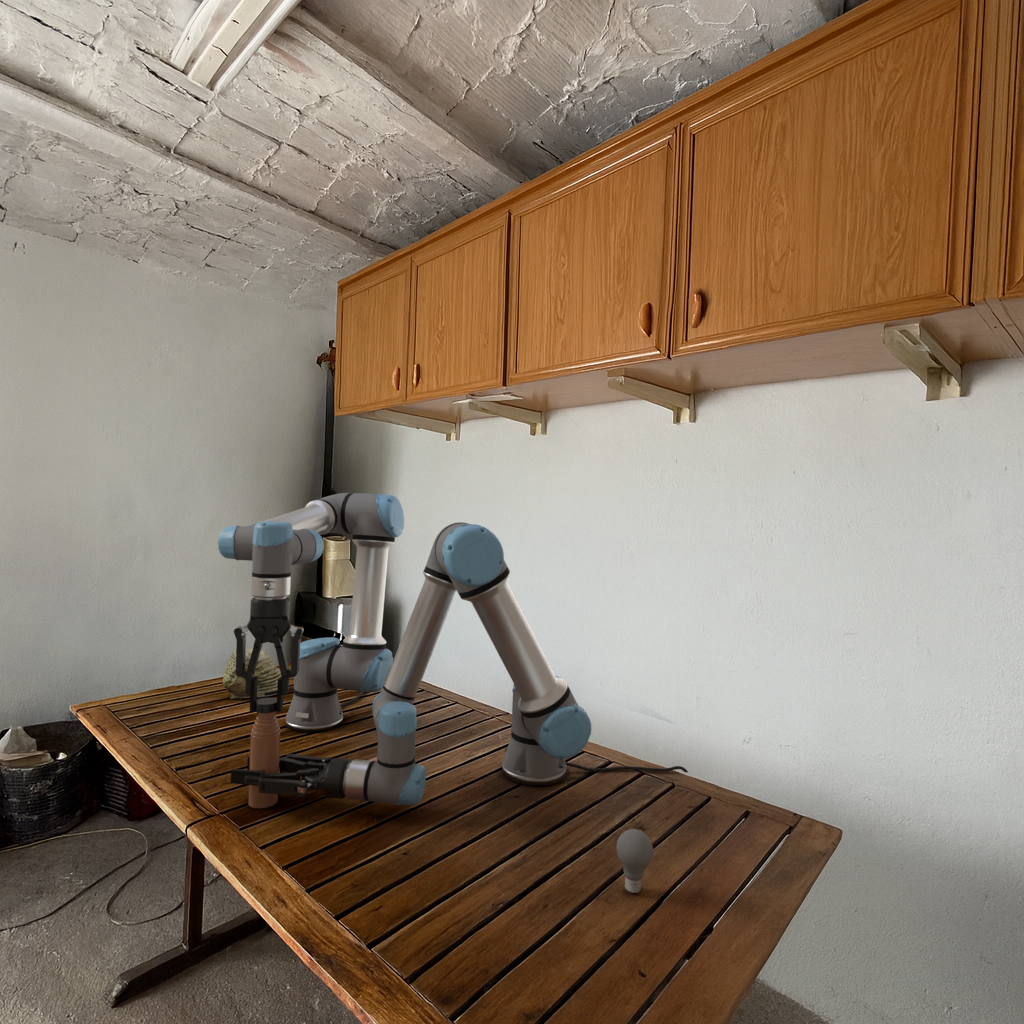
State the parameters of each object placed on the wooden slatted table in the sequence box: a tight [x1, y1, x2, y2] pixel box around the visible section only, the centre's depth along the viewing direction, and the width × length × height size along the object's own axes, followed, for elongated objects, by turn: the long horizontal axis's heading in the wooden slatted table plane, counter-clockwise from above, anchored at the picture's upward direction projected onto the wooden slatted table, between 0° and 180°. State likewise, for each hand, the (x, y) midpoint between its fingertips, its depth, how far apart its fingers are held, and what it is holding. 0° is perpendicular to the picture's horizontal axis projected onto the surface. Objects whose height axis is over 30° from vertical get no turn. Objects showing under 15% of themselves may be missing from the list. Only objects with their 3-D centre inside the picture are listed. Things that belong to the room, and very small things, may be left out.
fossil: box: [222, 646, 281, 699], centre depth 198 cm, size 9×18×15 cm, turn 132°
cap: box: [254, 697, 277, 714], centre depth 130 cm, size 5×5×2 cm
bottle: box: [247, 711, 281, 809], centre depth 130 cm, size 6×6×20 cm
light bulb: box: [615, 828, 654, 894], centre depth 106 cm, size 6×6×10 cm
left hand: (266, 709), depth 130 cm, fingers closed on cap, 4 cm apart
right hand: (240, 769), depth 131 cm, fingers closed on bottle, 6 cm apart
